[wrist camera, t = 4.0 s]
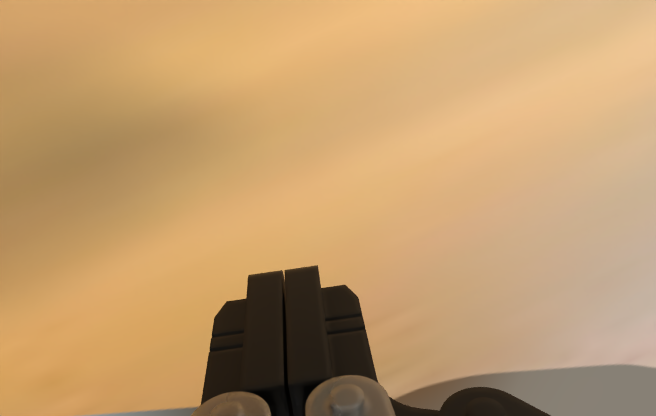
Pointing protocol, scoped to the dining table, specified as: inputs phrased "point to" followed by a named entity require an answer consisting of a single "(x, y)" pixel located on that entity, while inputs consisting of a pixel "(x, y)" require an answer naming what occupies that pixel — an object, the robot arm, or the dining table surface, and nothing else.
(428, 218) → the dining table surface
